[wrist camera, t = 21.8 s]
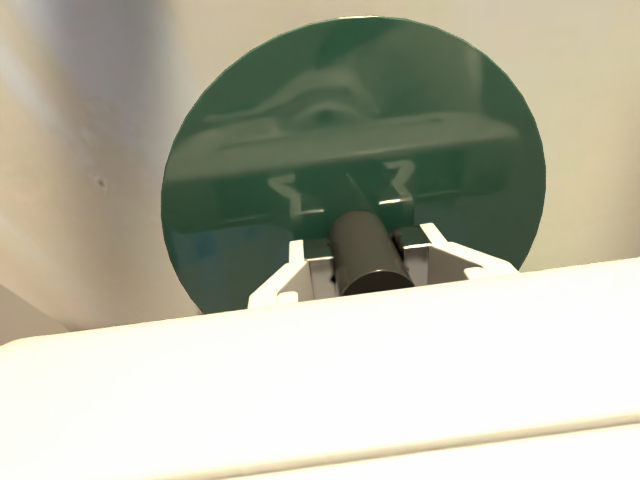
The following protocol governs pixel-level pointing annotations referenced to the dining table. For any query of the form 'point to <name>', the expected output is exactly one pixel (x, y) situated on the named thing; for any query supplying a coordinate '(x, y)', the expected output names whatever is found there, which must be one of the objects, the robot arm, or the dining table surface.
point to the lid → (349, 158)
